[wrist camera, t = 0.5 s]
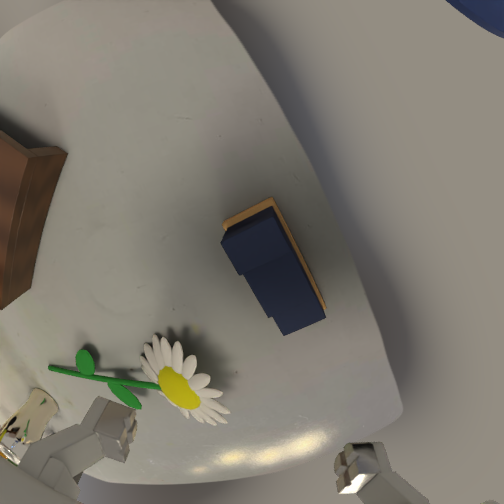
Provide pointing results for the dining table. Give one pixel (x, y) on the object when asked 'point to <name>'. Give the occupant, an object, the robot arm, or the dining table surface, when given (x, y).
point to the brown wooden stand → (23, 210)
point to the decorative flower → (162, 381)
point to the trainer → (273, 266)
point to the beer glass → (26, 425)
